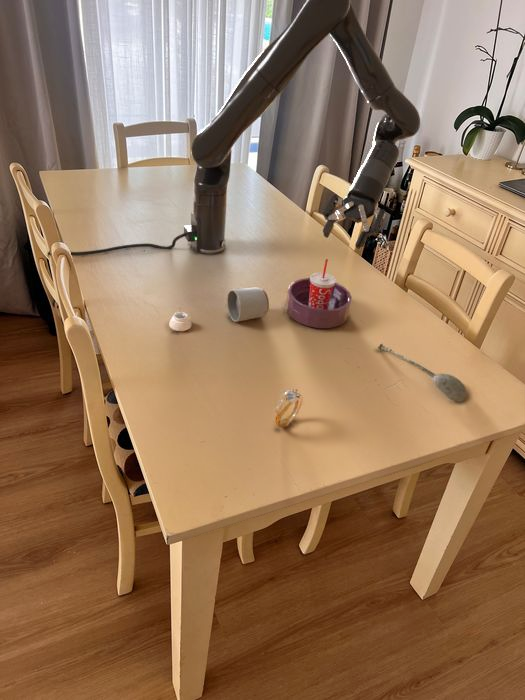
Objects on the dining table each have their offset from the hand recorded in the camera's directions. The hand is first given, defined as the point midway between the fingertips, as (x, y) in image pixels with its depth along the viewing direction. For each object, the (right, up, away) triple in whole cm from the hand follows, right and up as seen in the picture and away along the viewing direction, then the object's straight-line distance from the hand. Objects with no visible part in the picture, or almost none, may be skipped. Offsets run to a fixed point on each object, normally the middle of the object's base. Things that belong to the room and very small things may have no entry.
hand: (341, 241), depth 124 cm
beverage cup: (-5, -16, +5) cm, 18 cm away
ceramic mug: (-24, -18, +1) cm, 29 cm away
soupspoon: (+16, -31, -11) cm, 37 cm away
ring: (-15, -40, -27) cm, 51 cm away
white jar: (-38, -21, -5) cm, 43 cm away
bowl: (-5, -17, +5) cm, 18 cm away
